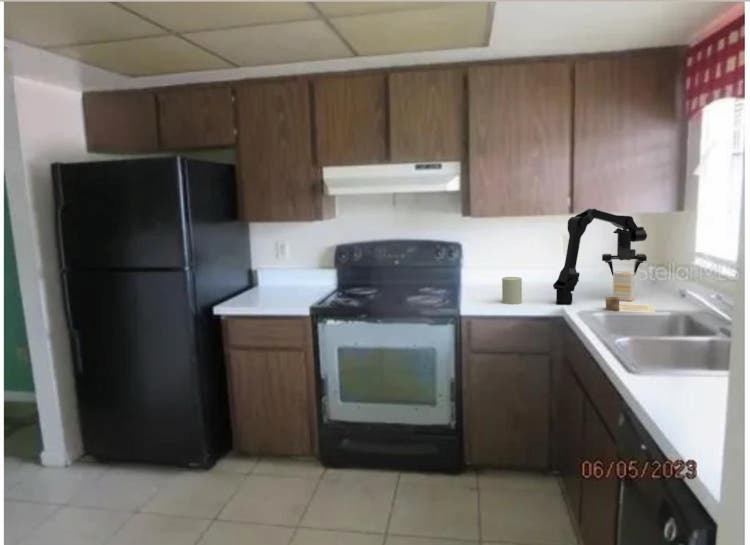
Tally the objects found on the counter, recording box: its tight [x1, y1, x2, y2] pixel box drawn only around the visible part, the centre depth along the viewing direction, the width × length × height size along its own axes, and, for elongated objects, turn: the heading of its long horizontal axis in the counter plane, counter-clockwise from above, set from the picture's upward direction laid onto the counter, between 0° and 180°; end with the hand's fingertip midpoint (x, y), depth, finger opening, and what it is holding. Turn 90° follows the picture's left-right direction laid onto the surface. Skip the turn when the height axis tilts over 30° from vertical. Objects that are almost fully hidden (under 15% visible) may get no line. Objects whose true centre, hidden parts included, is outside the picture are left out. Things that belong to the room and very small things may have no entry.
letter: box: [617, 303, 656, 314], centre depth 228 cm, size 14×16×1 cm
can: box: [501, 276, 523, 305], centre depth 250 cm, size 9×9×12 cm
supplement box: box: [612, 271, 636, 302], centre depth 244 cm, size 8×5×13 cm, turn 48°
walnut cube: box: [605, 296, 620, 312], centre depth 227 cm, size 5×5×5 cm
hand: (623, 275), depth 250 cm, fingers open, 9 cm apart
